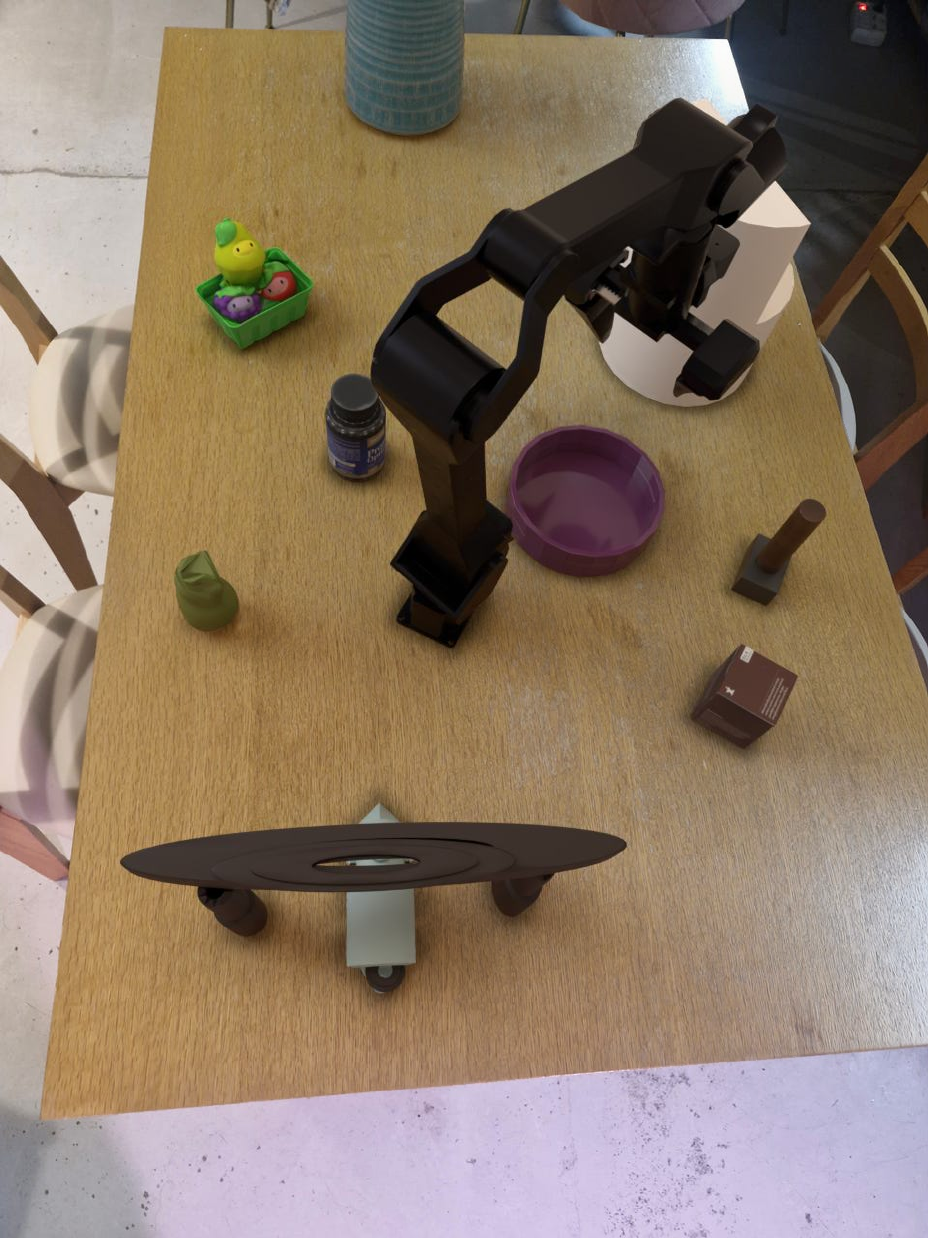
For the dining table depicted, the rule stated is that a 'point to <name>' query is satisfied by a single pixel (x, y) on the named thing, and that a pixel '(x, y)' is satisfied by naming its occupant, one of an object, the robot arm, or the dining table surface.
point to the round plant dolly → (372, 873)
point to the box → (744, 697)
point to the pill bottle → (355, 428)
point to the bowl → (584, 500)
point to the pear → (204, 594)
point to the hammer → (776, 553)
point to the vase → (405, 63)
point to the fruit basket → (252, 286)
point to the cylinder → (719, 297)
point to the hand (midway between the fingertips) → (641, 366)
